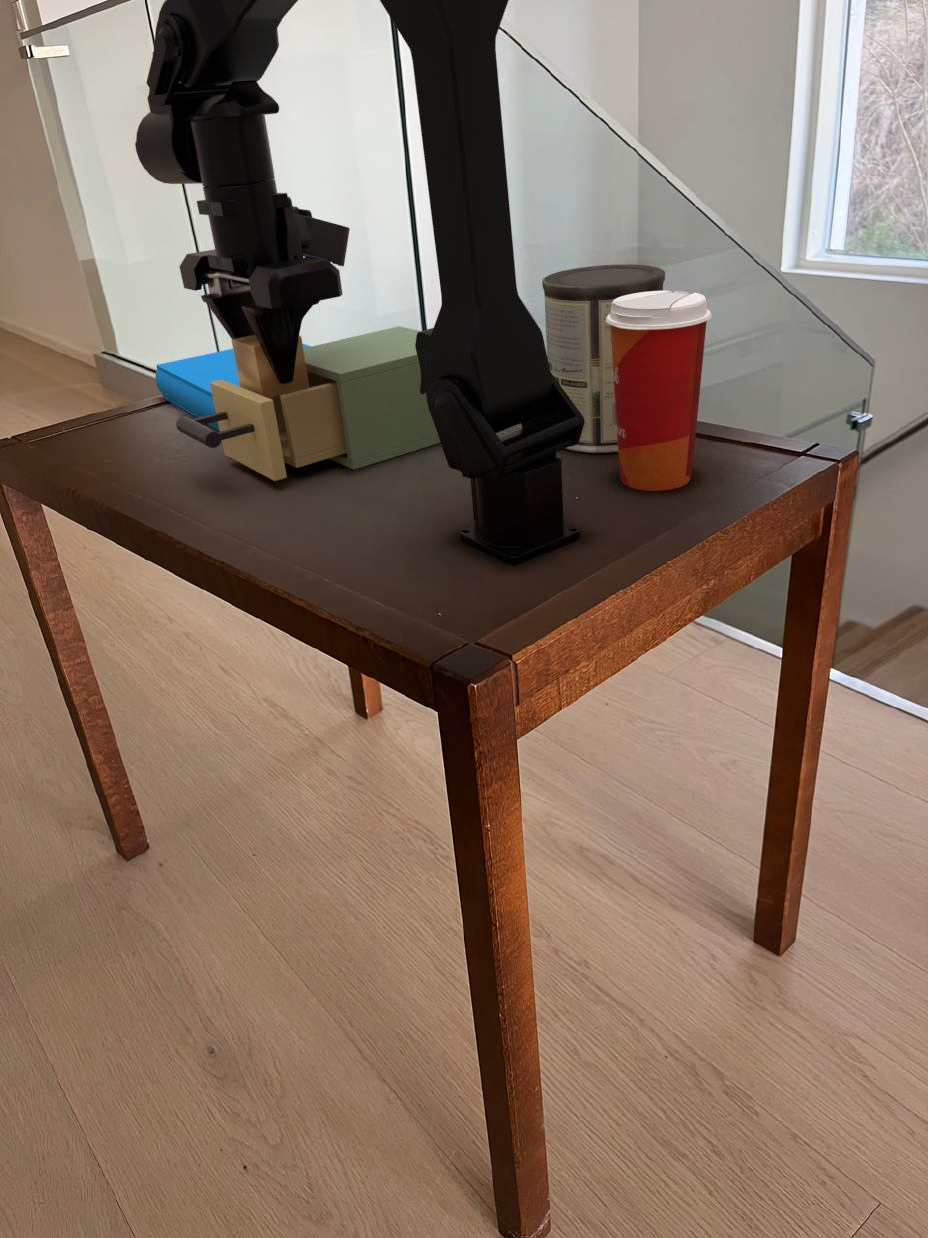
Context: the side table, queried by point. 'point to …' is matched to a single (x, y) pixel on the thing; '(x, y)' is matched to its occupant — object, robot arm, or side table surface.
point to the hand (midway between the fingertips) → (274, 378)
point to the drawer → (273, 426)
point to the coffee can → (590, 341)
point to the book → (197, 381)
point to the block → (266, 369)
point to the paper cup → (657, 384)
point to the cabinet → (376, 394)
